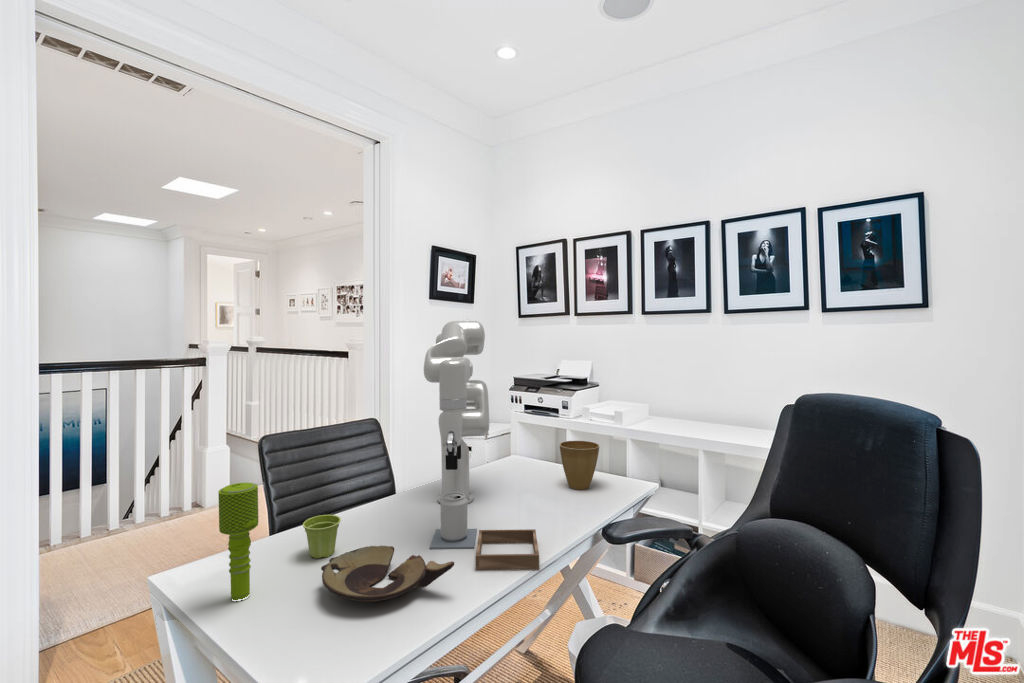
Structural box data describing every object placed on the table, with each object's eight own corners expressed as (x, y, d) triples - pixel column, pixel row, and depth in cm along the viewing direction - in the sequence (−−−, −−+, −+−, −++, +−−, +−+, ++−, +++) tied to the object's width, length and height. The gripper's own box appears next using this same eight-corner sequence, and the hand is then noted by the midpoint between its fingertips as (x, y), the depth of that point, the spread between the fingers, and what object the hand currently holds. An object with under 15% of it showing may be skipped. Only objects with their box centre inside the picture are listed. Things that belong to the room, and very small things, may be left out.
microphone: (212, 603, 106) (209, 489, 105) (242, 585, 113) (240, 478, 112) (239, 610, 103) (237, 493, 102) (269, 592, 110) (267, 482, 109)
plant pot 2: (602, 493, 175) (602, 449, 175) (561, 493, 175) (561, 449, 175) (596, 480, 190) (596, 439, 190) (557, 480, 190) (557, 439, 190)
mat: (436, 530, 143) (436, 529, 143) (476, 530, 143) (476, 528, 143) (429, 549, 131) (429, 547, 131) (474, 548, 131) (474, 546, 131)
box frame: (479, 542, 135) (479, 529, 135) (535, 541, 135) (535, 529, 135) (475, 570, 119) (475, 556, 119) (539, 569, 120) (539, 555, 120)
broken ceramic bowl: (374, 556, 127) (373, 527, 127) (466, 587, 112) (466, 554, 112) (297, 596, 108) (297, 562, 108) (397, 640, 93) (396, 600, 93)
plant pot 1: (348, 548, 132) (348, 516, 132) (324, 564, 123) (324, 530, 123) (320, 543, 135) (320, 512, 135) (295, 559, 126) (294, 525, 126)
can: (463, 543, 133) (462, 500, 133) (437, 541, 135) (436, 498, 134) (470, 532, 140) (470, 491, 140) (445, 530, 142) (445, 489, 142)
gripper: (443, 398, 145) (444, 455, 146) (435, 409, 128) (435, 474, 129) (468, 398, 145) (469, 455, 146) (463, 409, 128) (464, 473, 129)
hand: (453, 463), depth 137 cm, fingers open, 9 cm apart
